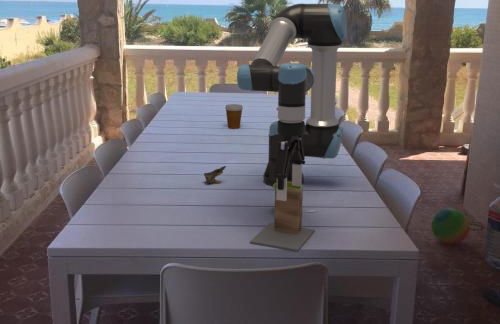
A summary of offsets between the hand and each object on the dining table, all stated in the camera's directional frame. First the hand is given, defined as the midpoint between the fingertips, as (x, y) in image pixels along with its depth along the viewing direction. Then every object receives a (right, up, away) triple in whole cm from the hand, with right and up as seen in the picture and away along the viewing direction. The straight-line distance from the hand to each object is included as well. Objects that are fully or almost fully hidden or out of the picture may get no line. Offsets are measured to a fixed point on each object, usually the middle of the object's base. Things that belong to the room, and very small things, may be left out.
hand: (289, 192), depth 170 cm
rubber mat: (-2, -13, -1) cm, 13 cm away
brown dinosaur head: (-24, +1, +49) cm, 55 cm away
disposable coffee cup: (-20, +27, +147) cm, 151 cm away
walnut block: (0, -11, +3) cm, 11 cm away
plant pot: (+1, -7, +20) cm, 21 cm away
